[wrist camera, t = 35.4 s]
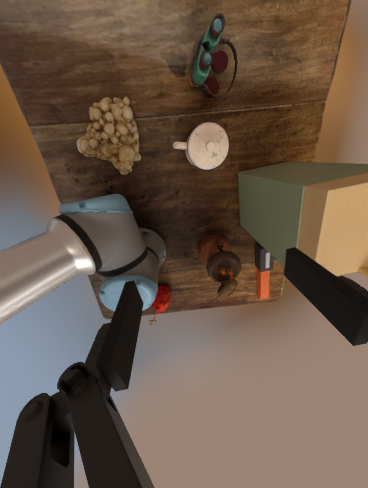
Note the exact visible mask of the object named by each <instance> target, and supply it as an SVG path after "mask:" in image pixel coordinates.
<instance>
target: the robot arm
mask: <svg viewBox="0 0 368 488" xmlns="http://www.w3.org/2000/svg"><path fill="white" fill-rule="evenodd" d="M59 213H61V215H59V216H57V217H54V218H52V219H51V220H50V221H49V223H48V227H47V230H46V231H45V232H44V233H42V234H39V235H37V236H34V237H32V238H30V239H27V240H25V241H23V242H20V243H18V244H16V245H14V246H11V247H9V248H7V249H4V250H2V251H0V324H2V323H3V322H5V321H6V320H8V319H9V318H11V317H13V316H14V315H16V314H17V313H19V312H20V311H22V310H23V309H25V308H26V307H28V306H29V305H31V304H33V303H34V302H36V301H37V300H39V299H40V298H42V297H43V296H45V295H46V294H48V293H49V292H51V291H53V290H54V289H56V288H57V287H59V286H60V285H62V284H63V283H65V282H66V281H68V280H69V279H71V278H73V277H74V276H76V275H77V274H87V275H92V274H94V273H95V272H97V273H98V274H99V276H100V278H101V279H102V281H103V284H102V285H101V287H100V294H99V296H100V300H101V302H102V303H103V304H104V305H105V306H106V307H107V308H109V309H111V310H113V311H115V312H114V315H113V318H112V320H111V323H107V324H103V326H102V327H101V328H100V330H99V331H98V333H97V335H96V338H95V341H94V342H93V345H92V347H91V350H90V352H89V354H88V357H87V359H86V362H85V364H84V363H83V362H77V363H75V364H73V365H71V366H70V367H68V368H67V369H66V370H65V371H64V372H63V374H62V375H61V377H60V378H59V381H58V384H57V389H59V390H60V391H59V392H58V393H56V394H54V395H52V396H49V395H48V394H47V393H41V394H39V395H37V396H35V397H34V398H33V399H31V400H30V401H29V402H28V403H27V404H26V405H25V407H24V408H23V410H22V411H21V413H20V415H19V417H18V420H17V423H16V427H15V431H14V435H13V439H12V443H11V447H10V452H9V455H8V459H7V463H6V467H5V471H4V475H3V479H2V483H1V487H0V488H74V430H75V434H76V438H77V442H78V446H79V450H80V454H81V458H82V462H83V465H84V469H85V473H86V477H87V481H88V485H89V488H154V486H153V484H152V481H151V479H150V477H149V475H148V473H147V471H146V469H145V467H144V465H143V463H142V460H141V458H140V456H139V454H138V452H137V450H136V448H135V446H134V444H133V441H132V439H131V438H130V435H129V433H128V431H127V429H126V427H125V425H124V423H123V421H122V418H121V416H120V414H119V412H118V410H117V408H116V406H115V404H114V402H113V400H112V397H111V396H110V391H111V387H112V388H113V389H114V390H115V391H120V390H125V389H128V386H129V381H130V376H131V370H132V365H133V359H134V354H135V348H136V342H137V337H138V332H139V326H140V321H141V315H142V311H143V310H145V309H147V308H148V307H150V306H151V305H152V303H153V302H154V300H155V298H156V294H157V291H158V287H157V286H158V275H159V267H160V265H161V264H162V263H163V261H164V259H165V257H166V243H165V241H164V239H163V237H162V236H161V235H160V234H159V233H158V232H156V231H155V230H153V229H150V228H147V227H138V226H137V223H136V221H135V218H134V216H133V211H131V209H130V207H129V204H128V202H127V200H126V199H125V197H124V196H122V195H120V194H111V195H106V196H100V197H95V198H91V199H86V200H81V201H76V202H71V203H67V204H63V205H60V206H59ZM284 276H285V277H286V278H288V280H289V281H290V282H291V283H292V284H293V285H294V286H295V287H296V288H297V289H298V290H299V291H300V292H301V293H302V294H303V295H304V296H305V297H306V298H307V299H308V300H309V301H310V302H311V303H312V304H313V305H314V306H315V307H316V308H317V309H318V310H319V311H320V312H321V313H322V314H323V315H324V316H325V317H326V318H327V319H328V321H329V322H331V324H332V325H333V326H335V328H336V329H337V330H338V331H339V332H340V333H341V334H342V335H343V336H344V337H345V338H346V339H347V340H348V341H349V342H350V343H351V344H352V345H353V346H355V345H361V344H366V343H367V342H368V291H367V290H366V289H365V288H363V287H361V286H360V285H358V284H357V283H356V282H354V281H353V280H351V279H348V278H346V277H343V276H339V277H337V276H335V275H334V274H333V273H331V272H330V271H328V270H327V269H326V268H324V267H323V266H321V265H320V264H318V263H317V262H316V261H314V260H313V259H311V258H310V257H309V256H307V255H306V254H304V253H303V252H302V251H300V250H299V249H297V248H296V247H293V248H288V249H286V257H285V269H284Z"/></svg>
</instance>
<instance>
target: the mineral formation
mask: <svg viewBox="0 0 368 488" xmlns="http://www.w3.org/2000/svg"><path fill="white" fill-rule="evenodd" d="M113 103H114V104H112V100H111V99H110V98H108V97H106V98H103V99H102V101H100V103H93V106H94V107H90V109H89V115H90V119H91V120H92V121H94V123H93V124H89V127H87V132H88V133H87V134H86V137H83V136H81V138H79V139H78V140H77V146H78V150H79V152H80V153H84V156H87V157H90V156H91V157H97V158H98V159H101V160H102V159H103V160H109V161H111V162H112V164H113V165H114V166H115V168H117V169H118V170H119V171H120V173H121V174H122V175H126V174H128V172H131V171H132V169H131V167H132V165H134V164H133V161H140V159H141V155H140V154H139V142H138V140H139V134H138V129H137V126H136V122H135V120H134V119H133V113H132V110H131V108H130V107H129V105H130V100H129V99H128V98H127V97H125V98H123V101H122V100H121V99H118V98H115V97H114V98H113Z"/></svg>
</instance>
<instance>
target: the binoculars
mask: <svg viewBox="0 0 368 488" xmlns="http://www.w3.org/2000/svg"><path fill="white" fill-rule="evenodd" d="M224 26H225V18H224V16H223V14H222V13H217V14H216V15H215V16H214V17H213V19H212V21H211V22H210V24H209V26H208V28H207V29H206V31H205V32H204V34H203V35H202V36H201V40H200V41H198V42H196V44H195V45H194V49H193V51H194V54H195V58H194V61H193V64H192V70H191V72H190V74H189V77H188V81H189V84H190V85H191V86H193V87H198V88H199V87H202V88H203V91H204V94H205V95H206V96H207V97H208V98H212V97H213V98H215V99H218V98H221V97H223V96H224V95H225V94H224V95H223V96H221V97H216V96H215V95H216V94H217V92H218V90H219V84H218V81H217V80H216V79H215V78H213V77H209V78H207V76H208V74H209V71H210V67H211V65H212V68H213V70H214V71H215V72H216V73H221V72H223V71H224V70H225V69H226V68H227V65H228V56H227V54H226V52H225V51H222V50H221V51H217V52H216V53H214V54H213V55H212V53H213V51H214V49H215V47H216V45H217V43H219V44H227V45H229V46H230V47H231V49H232V52H233V54H234V60H235V71H234V76H233V80H232V84H231V86H230V88H229V90H228V91H227V93H228V92H229V91H230V89H231V87H232V86H233V83H234V80H235V77H236V72H237V63H238V61H237V54H236V50H235V48H234V45H233V44H232V43H231V42H230V41H229V39H228V40H226V39H225V38H224V37H221V35H222V32H223V29H224ZM220 38H222V39H221V41H220V42H219V39H220ZM206 78H207V79H206ZM227 93H226V94H227Z"/></svg>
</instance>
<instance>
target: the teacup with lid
mask: <svg viewBox="0 0 368 488" xmlns="http://www.w3.org/2000/svg"><path fill="white" fill-rule="evenodd" d="M173 147H174V148H175V149H182V150H185V153H186V156H187V159H188V160H189V162H190V163H191V164H192V165H194V166H196V167H197V168H199V169H202V170H211V169H214V168H216V167H218V166H219V165H220V164H221V163H222V162H223V161H224V159H225V158H226V155H227V153H228V148H229V141H228V137H227V134H226V132H225V130H224V129H223V128H222V127H221V126H220V125H218V124H217V123H214V122H204V123H201V124H199V125H198V126H196V127H195V128H194V129H193V131H192V132H191V134H190V136H189V137H188V139H187V142H174V143H173Z"/></svg>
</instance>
